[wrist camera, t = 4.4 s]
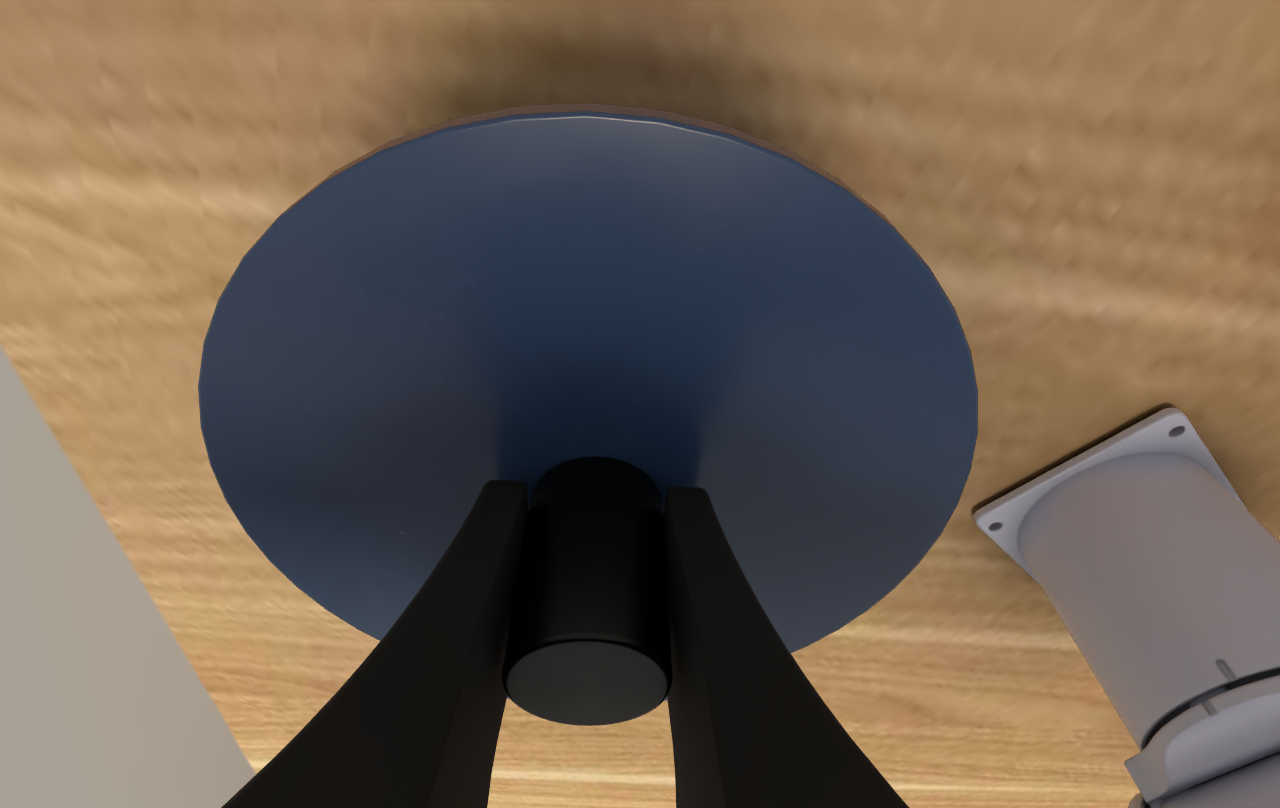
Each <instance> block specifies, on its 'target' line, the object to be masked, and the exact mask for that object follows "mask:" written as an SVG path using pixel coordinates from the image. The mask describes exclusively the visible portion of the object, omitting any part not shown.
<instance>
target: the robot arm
mask: <svg viewBox="0 0 1280 808" xmlns="http://www.w3.org/2000/svg"><path fill="white" fill-rule="evenodd" d="M527 517H528V499H527V482H526V481H507V480H490V481H488V482H487V483H486V484H484V486H483V488H482V490H481V492H480V494H479V496H478V498H477V500H476V502H475V504H474V506H473V507H472V509H471V511H470V513H469V514H468V516H467V518H466V520H465V521H464V523H463V525H462V526H461V528H460V530H459V531H458V533H457V535H456V536H455V538H454V539H453V541H452V543H451V544H450V546H449V547H448V549H447V550H446V552H445V553H444V555H443V556H442V558H441V559H440V561H439V562H438V564H437V565H436V567H435V568H434V570H433V571H432V573H431V574H430V576H429V577H428V579H427V580H426V582H425V583H424V584H423V586H422V587H421V589H420V590H419V592H418V593H417V594H416V596H415V597H414V598H413V599H412V601H411V602H410V603H409V605H408V606H407V607H406V609H405V610H404V611H403V613H402V614H401V615H400V617H399V618H398V619H397V621H396V622H395V623H394V625H393V626H392V627H391V629H390V630H389V631H388V633H387V634H386V635H385V636H384V638H383V639H382V640H381V641H380V643H379V644H378V645H377V646H376V647H375V649H374V650H373V651H372V652H371V654H370V655H369V656H368V657H367V658H366V660H365V661H364V662H363V663H362V664H361V665H360V667H359V668H358V669H357V670H356V671H355V672H354V673H353V675H352V676H351V677H350V678H349V679H348V680H347V682H346V683H345V684H344V685H343V686H342V687H341V688H340V689H339V691H338V692H337V693H336V694H335V695H334V696H333V697H332V698H331V699H330V700H329V701H328V702H327V703H326V705H325V706H324V707H323V708H322V709H321V710H320V711H319V712H318V713H317V714H316V715H315V716H314V717H313V718H312V720H311V721H310V722H309V723H308V724H307V725H306V726H305V727H304V728H303V729H302V730H301V731H300V732H299V733H298V734H297V735H296V736H295V737H294V738H293V739H292V740H291V741H290V742H289V743H288V744H287V745H286V746H285V747H284V748H283V749H282V750H281V751H280V752H279V753H278V754H277V755H276V756H275V757H274V758H273V759H272V760H271V761H270V762H269V763H268V764H267V765H266V766H265V767H264V768H263V769H262V770H261V771H260V772H259V773H257V774H256V775H255V776H254V777H253V778H252V779H251V780H250V781H249V782H248V783H247V784H246V785H245V786H244V787H243V788H242V789H241V790H239V791H238V792H237V793H236V794H235V795H234V796H233V797H232V798H231V799H230V800H229V801H228V802H227V803H226V804H225V805H224V806H223V807H222V808H487V804H488V796H489V788H490V781H491V773H492V767H493V762H494V756H495V750H496V745H497V740H498V735H499V731H500V726H501V722H502V717H503V712H504V708H505V703H506V699H507V693H506V692H505V689H504V686H503V682H502V670H503V664H504V658H505V652H506V646H507V639H508V633H509V627H510V621H511V615H512V609H513V603H514V597H515V590H516V584H517V578H518V572H519V566H520V560H521V554H522V548H523V542H524V536H525V530H526V524H527ZM973 519H974V520H975V522H976V524H977V526H978V527H979V528H980V529H981V530H982V531H983V532H984V533H986V534H987V535H988V536H989V537H990V538H991V539H992V540H993V541H994V542H995V543H996V544H997V545H998V546H999V547H1000V548H1001V549H1003V550H1004V551H1005V552H1006V553H1007V554H1008V555H1009V556H1010V557H1011V558H1012V559H1013V560H1014V561H1015V562H1016V563H1017V564H1019V565H1020V566H1021V567H1022V568H1023V569H1024V570H1025V571H1026V572H1027V573H1028V574H1029V575H1030V576H1031V577H1032V578H1033V579H1034V580H1036V581H1037V582H1038V583H1039V584H1040V585H1041V586H1042V588H1043V590H1044V591H1045V593H1046V595H1047V596H1048V598H1049V600H1050V601H1051V603H1052V605H1053V606H1054V608H1055V610H1056V611H1057V613H1058V615H1059V616H1060V618H1061V619H1062V621H1063V623H1064V624H1065V626H1066V628H1067V629H1068V631H1069V633H1070V634H1071V636H1072V638H1073V639H1074V641H1075V643H1076V644H1077V646H1078V648H1079V649H1080V651H1081V653H1082V654H1083V656H1084V658H1085V659H1086V661H1087V663H1088V664H1089V666H1090V668H1091V669H1092V671H1093V673H1094V674H1095V676H1096V678H1097V679H1098V681H1099V683H1100V684H1101V686H1102V688H1103V689H1104V691H1105V693H1106V694H1107V696H1108V698H1109V699H1110V701H1111V703H1112V704H1113V706H1114V708H1115V709H1116V711H1117V713H1118V714H1119V716H1120V718H1121V719H1122V721H1123V723H1124V724H1125V726H1126V728H1127V729H1128V731H1129V733H1130V734H1131V736H1132V738H1133V739H1134V741H1135V743H1136V744H1137V746H1138V748H1139V749H1140V751H1141V752H1140V753H1138V754H1137V755H1135V756H1133V757H1131V758H1129V759H1127V760H1126V761H1125V762H1124V765H1125V766H1126V768H1127V770H1128V772H1129V773H1130V775H1131V777H1132V778H1133V780H1134V782H1135V784H1136V785H1137V787H1138V789H1139V791H1140V792H1141V793H1139V794H1136V795H1135V796H1134V797H1133V799H1132V800H1131V801H1130V803H1129V806H1128V808H1280V542H1279V541H1278V540H1277V539H1276V538H1275V537H1274V536H1273V535H1272V534H1271V533H1270V532H1269V531H1268V530H1267V529H1266V528H1265V527H1264V526H1263V525H1262V524H1261V523H1260V522H1259V521H1258V520H1257V519H1256V518H1255V517H1254V516H1253V515H1251V514H1250V513H1249V512H1248V510H1247V508H1246V507H1245V505H1244V504H1243V502H1242V501H1241V499H1240V498H1239V496H1238V495H1237V493H1236V492H1235V490H1234V489H1233V487H1232V486H1231V484H1230V482H1229V481H1228V479H1227V478H1226V476H1225V475H1224V473H1223V472H1222V470H1221V469H1220V467H1219V466H1218V464H1217V463H1216V461H1215V460H1214V458H1213V456H1212V455H1211V453H1210V452H1209V450H1208V449H1207V447H1206V446H1205V444H1204V443H1203V441H1202V440H1201V438H1200V437H1199V435H1198V434H1197V432H1196V430H1195V429H1194V427H1193V426H1192V424H1191V423H1190V421H1189V420H1188V418H1187V417H1186V415H1185V414H1183V413H1182V412H1181V411H1180V410H1179V409H1178V408H1173V407H1172V408H1165V409H1163V410H1160V411H1159V412H1157V413H1155V414H1153V415H1151V416H1149V417H1147V418H1146V419H1144V420H1142V421H1140V422H1138V423H1136V424H1135V425H1133V426H1131V427H1129V428H1127V429H1125V430H1124V431H1122V432H1120V433H1118V434H1116V435H1114V436H1112V437H1111V438H1109V439H1107V440H1105V441H1103V442H1101V443H1100V444H1098V445H1096V446H1094V447H1092V448H1090V449H1089V450H1087V451H1085V452H1083V453H1081V454H1079V455H1078V456H1076V457H1074V458H1072V459H1070V460H1068V461H1066V462H1065V463H1063V464H1061V465H1059V466H1057V467H1055V468H1054V469H1052V470H1050V471H1048V472H1046V473H1044V474H1043V475H1041V476H1039V477H1037V478H1035V479H1033V480H1031V481H1030V482H1028V483H1026V484H1024V485H1022V486H1020V487H1019V488H1017V489H1015V490H1013V491H1011V492H1009V493H1008V494H1006V495H1004V496H1002V497H1000V498H998V499H996V500H995V501H993V502H991V503H989V504H987V505H985V506H984V507H982V508H980V509H979V510H977V511H976V512H975V514H974V516H973ZM663 522H664V540H665V557H666V571H667V588H668V606H669V624H670V641H671V659H672V679H673V681H672V685H671V688H670V691H669V693H668V695H667V698H668V706H669V715H670V723H671V732H672V740H673V751H674V764H675V780H676V808H909V807H908V806H907V805H906V803H905V802H904V801H903V800H902V799H901V798H900V797H899V795H898V794H897V793H896V792H895V791H894V789H893V788H892V787H891V786H890V785H889V783H888V782H887V781H886V780H885V778H884V777H883V776H882V775H881V774H880V772H879V771H878V770H877V769H876V768H875V766H874V765H873V764H872V763H871V762H870V760H869V759H868V758H867V757H866V756H865V754H864V753H863V752H862V751H861V750H860V748H859V747H858V746H857V745H856V744H855V742H854V741H853V740H852V739H851V737H850V736H849V735H848V734H847V732H846V731H845V730H844V728H843V727H842V726H841V724H840V723H839V722H838V720H837V719H836V718H835V716H834V715H833V714H832V712H831V711H830V710H829V708H828V707H827V706H826V704H825V703H824V702H823V700H822V699H821V697H820V696H819V695H818V693H817V692H816V690H815V689H814V687H813V686H812V685H811V683H810V682H809V680H808V679H807V678H806V676H805V675H804V673H803V672H802V670H801V669H800V667H799V666H798V664H797V663H796V661H795V660H794V658H793V657H792V655H791V654H790V652H789V651H788V649H787V647H786V646H785V644H784V643H783V641H782V639H781V638H780V636H779V635H778V633H777V631H776V630H775V628H774V626H773V625H772V623H771V621H770V620H769V618H768V616H767V615H766V613H765V611H764V610H763V608H762V606H761V604H760V603H759V601H758V599H757V597H756V595H755V593H754V592H753V590H752V588H751V586H750V584H749V582H748V581H747V579H746V577H745V575H744V573H743V571H742V569H741V567H740V565H739V563H738V562H737V560H736V558H735V556H734V553H733V551H732V549H731V547H730V545H729V543H728V541H727V539H726V537H725V534H724V532H723V530H722V528H721V525H720V523H719V521H718V518H717V516H716V513H715V511H714V508H713V506H712V503H711V500H710V498H709V495H708V492H707V491H706V490H704V489H703V488H698V487H671V486H667V493H666V501H665V509H664V516H663Z"/></svg>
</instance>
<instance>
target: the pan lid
mask: <svg viewBox="0 0 1280 808" xmlns="http://www.w3.org/2000/svg"><path fill="white" fill-rule="evenodd" d="M198 391H199V406H200V421H201V430H202V434H203V437H204V441H205V445H206V449H207V453H208V457H209V461H210V465H211V467H212V470H213V472H214V474H215V477H216V479H217V481H218V483H219V486H220V488H221V490H222V493H223V495H224V497H225V499H226V501H227V503H228V505H229V506H230V508H231V509H232V511H233V512H234V514H235V516H236V517H237V519H238V520H239V522H240V524H241V525H242V527H243V528H244V530H245V532H246V533H247V534H248V535H249V537H250V538H251V539H252V540H253V541H254V543H255V544H256V545H257V546H258V548H259V549H260V550H261V551H262V552H263V554H264V555H265V556H266V557H267V558H268V560H269V561H270V562H271V563H272V564H273V565H274V566H275V567H276V568H277V569H278V570H280V571H281V572H282V573H283V574H284V575H285V576H286V577H287V578H288V579H289V580H290V581H291V582H292V583H293V584H294V585H295V586H296V587H297V588H299V589H300V590H301V591H303V592H304V593H305V594H307V595H308V596H309V597H310V598H312V599H313V600H314V601H316V602H317V603H318V604H320V605H321V606H322V607H324V608H325V609H326V610H328V611H329V612H331V613H332V614H334V615H336V616H337V617H339V618H340V619H342V620H344V621H345V622H347V623H348V624H350V625H352V626H353V627H355V628H356V629H358V630H360V631H362V632H364V633H366V634H368V635H370V636H372V637H374V638H376V639H378V640H380V641H381V640H382V639H383V638H384V636H385V635H386V634H387V633H388V631H389V630H390V629H391V627H392V626H393V625H394V623H395V622H396V621H397V619H398V618H399V617H400V615H401V614H402V613H403V611H404V610H405V609H406V607H407V606H408V605H409V603H410V602H411V601H412V599H413V598H414V597H415V596H416V594H417V593H418V592H419V590H420V589H421V587H422V586H423V584H424V583H425V582H426V580H427V579H428V577H429V576H430V574H431V573H432V571H433V570H434V568H435V567H436V565H437V564H438V562H439V561H440V559H441V558H442V556H443V555H444V553H445V552H446V550H447V549H448V547H449V546H450V544H451V543H452V541H453V539H454V538H455V536H456V535H457V533H458V531H459V530H460V528H461V526H462V525H463V523H464V521H465V520H466V518H467V516H468V514H469V513H470V511H471V509H472V507H473V506H474V504H475V502H476V500H477V498H478V496H479V494H480V492H481V490H482V488H483V486H484V484H486V483H487V482H488V481H490V480H507V481H526V482H527V499H528V517H527V524H526V530H525V536H524V542H523V548H522V554H521V560H520V566H519V572H518V578H517V584H516V590H515V597H514V603H513V609H512V615H511V621H510V627H509V633H508V639H507V646H506V652H505V658H504V664H503V670H502V682H503V686H504V689H505V692H506V693H507V695H508V697H509V698H510V699H511V700H512V701H513V702H514V703H515V704H516V705H517V706H519V707H520V708H522V709H523V710H525V711H527V712H529V713H531V714H533V715H535V716H538V717H540V718H543V719H546V720H549V721H554V722H558V723H564V724H570V725H585V726H593V725H607V724H614V723H620V722H624V721H628V720H631V719H634V718H637V717H640V716H642V715H644V714H646V713H648V712H650V711H652V710H653V709H655V708H656V707H657V706H659V705H660V704H661V703H662V702H663V701H664V699H665V698H666V697H667V695H668V693H669V691H670V688H671V685H672V681H673V679H672V659H671V641H670V624H669V606H668V588H667V571H666V557H665V540H664V522H663V516H664V509H665V501H666V493H667V486H671V487H698V488H703V489H704V490H706V491H707V492H708V495H709V498H710V500H711V503H712V506H713V508H714V511H715V513H716V516H717V518H718V521H719V523H720V525H721V528H722V530H723V532H724V534H725V537H726V539H727V541H728V543H729V545H730V547H731V549H732V551H733V553H734V556H735V558H736V560H737V562H738V563H739V565H740V567H741V569H742V571H743V573H744V575H745V577H746V579H747V581H748V582H749V584H750V586H751V588H752V590H753V592H754V593H755V595H756V597H757V599H758V601H759V603H760V604H761V606H762V608H763V610H764V611H765V613H766V615H767V616H768V618H769V620H770V621H771V623H772V625H773V626H774V628H775V630H776V631H777V633H778V635H779V636H780V638H781V639H782V641H783V643H784V644H785V646H786V647H787V649H788V651H789V652H790V653H792V652H795V651H797V650H800V649H802V648H804V647H807V646H809V645H810V644H812V643H814V642H816V641H818V640H820V639H822V638H824V637H825V636H827V635H829V634H831V633H833V632H835V631H837V630H838V629H840V628H842V627H843V626H845V625H846V624H848V623H849V622H851V621H852V620H854V619H855V618H857V617H858V616H860V615H861V614H863V613H864V612H866V611H867V610H869V609H870V608H871V607H872V606H873V605H875V604H876V603H877V602H878V601H880V600H881V599H882V598H883V597H885V596H886V595H887V594H888V593H889V592H891V591H892V590H893V589H894V588H895V587H896V586H897V585H898V584H899V583H900V582H901V581H902V580H903V579H904V578H905V577H906V576H907V575H908V574H909V573H910V572H911V571H912V570H913V569H914V568H915V567H916V566H917V565H918V564H919V563H920V561H921V560H922V559H923V557H924V556H925V555H926V553H927V552H928V551H929V549H930V548H931V547H932V545H933V544H934V543H935V542H936V540H937V539H938V538H939V536H940V535H941V533H942V531H943V529H944V528H945V526H946V524H947V522H948V521H949V519H950V517H951V515H952V513H953V512H954V510H955V508H956V506H957V505H958V502H959V499H960V497H961V494H962V491H963V489H964V486H965V483H966V481H967V478H968V475H969V473H970V470H971V465H972V460H973V454H974V449H975V444H976V439H977V434H978V389H977V383H976V378H975V372H974V366H973V361H972V355H971V350H970V347H969V345H968V342H967V340H966V337H965V334H964V332H963V329H962V327H961V324H960V321H959V319H958V316H957V313H956V311H955V308H954V307H953V305H952V303H951V302H950V300H949V299H948V297H947V295H946V294H945V292H944V290H943V289H942V287H941V286H940V284H939V282H938V281H937V279H936V277H935V276H934V274H933V272H932V271H931V269H930V268H929V266H928V265H927V264H926V262H925V261H924V260H923V259H922V258H921V256H920V255H919V254H918V253H917V252H916V251H915V250H914V248H913V247H912V246H911V245H910V244H909V243H908V242H907V241H906V239H905V238H904V237H903V236H902V235H901V234H900V233H899V232H898V230H897V229H896V228H895V227H894V226H893V225H892V224H891V222H890V221H889V220H888V219H887V218H886V217H885V216H884V215H883V214H882V213H880V212H879V211H878V210H877V209H876V208H874V207H873V206H872V205H871V204H869V203H868V202H867V201H866V200H864V199H863V198H862V197H861V196H859V195H858V194H857V193H856V192H854V191H853V190H852V189H851V188H849V187H848V186H847V185H846V184H845V183H843V182H842V181H841V180H839V179H838V178H836V177H834V176H832V175H831V174H829V173H827V172H826V171H824V170H822V169H820V168H819V167H817V166H815V165H813V164H812V163H810V162H808V161H806V160H805V159H803V158H801V157H799V156H798V155H796V154H794V153H793V152H791V151H789V150H787V149H785V148H783V147H780V146H778V145H775V144H772V143H770V142H767V141H765V140H762V139H760V138H757V137H755V136H752V135H749V134H747V133H744V132H742V131H739V130H737V129H734V128H732V127H729V126H726V125H723V124H719V123H715V122H710V121H706V120H702V119H698V118H693V117H689V116H685V115H681V114H676V113H672V112H668V111H663V110H659V109H650V108H639V107H628V106H617V105H606V104H594V103H576V104H556V105H537V106H517V107H512V108H507V109H502V110H497V111H492V112H487V113H482V114H477V115H472V116H467V117H461V118H456V119H451V120H448V121H445V122H442V123H440V124H437V125H434V126H431V127H428V128H426V129H423V130H420V131H417V132H414V133H412V134H409V135H406V136H403V137H400V138H398V139H395V140H392V141H389V142H387V143H385V144H384V145H382V146H380V147H378V148H376V149H374V150H373V151H371V152H369V153H367V154H365V155H363V156H362V157H360V158H358V159H356V160H354V161H352V162H351V163H349V164H347V165H345V166H343V167H341V168H340V169H338V170H336V171H334V172H333V173H332V174H331V175H329V176H328V177H327V178H325V179H324V180H323V181H322V182H320V183H319V184H318V185H317V186H315V187H314V188H313V189H312V190H310V191H309V192H308V193H307V194H305V195H304V196H303V197H301V198H300V199H299V200H298V201H296V202H295V203H294V204H293V205H291V206H290V207H289V208H288V209H287V210H286V211H285V212H283V213H282V214H281V215H280V216H279V217H278V218H277V219H276V220H275V222H274V223H273V224H272V225H271V226H270V227H269V228H268V229H267V231H266V232H265V233H264V234H263V235H262V236H261V237H260V239H259V240H258V241H257V242H256V243H255V244H254V245H253V247H252V248H251V249H250V250H249V251H248V252H247V253H246V255H245V256H244V257H243V258H242V260H241V262H240V263H239V265H238V267H237V269H236V270H235V272H234V274H233V275H232V277H231V279H230V281H229V282H228V284H227V286H226V287H225V289H224V291H223V293H222V294H221V296H220V298H219V299H218V302H217V305H216V308H215V311H214V314H213V317H212V320H211V323H210V326H209V329H208V332H207V335H206V338H205V340H204V345H203V353H202V361H201V368H200V376H199V384H198Z"/></svg>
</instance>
